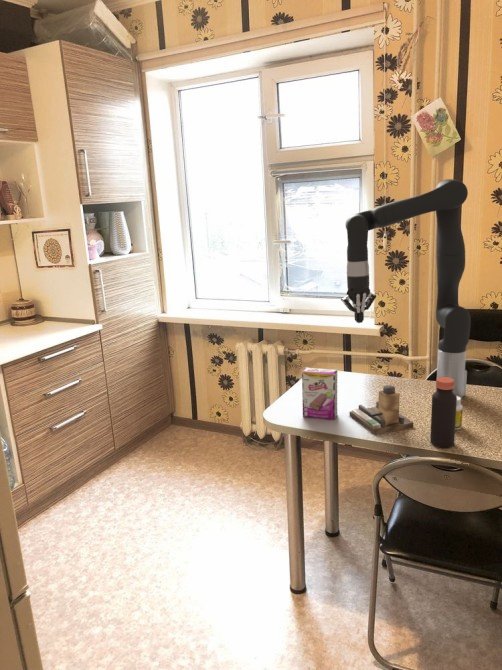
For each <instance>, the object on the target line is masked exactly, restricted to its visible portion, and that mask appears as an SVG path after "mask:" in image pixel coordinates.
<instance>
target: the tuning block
mask: <svg viewBox="0 0 502 670" xmlns="http://www.w3.org/2000/svg"><path fill="white" fill-rule="evenodd" d="M400 396H401V395H400V392H399V391H397V390H396V387H395V386H394V385H389V384H388V385H384V386H383V387H382V390H378V401H379V406H378V413H375V414H370V416H371V417H374V416H378V417H380V418H381V419H383V420H384V421H385V422H386V424H385V425H389V424H394V423H399V414H400Z"/></svg>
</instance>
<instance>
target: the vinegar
mask: <svg viewBox="0 0 502 670" xmlns="http://www.w3.org/2000/svg"><path fill="white" fill-rule="evenodd" d="M435 379H436V380H435V381H436V382H435V391H434V392H433V393H432V395H431V414H430V415H431V417H430V435H429V436H430V439H429V441H430V444H431V445H433V446H434V447H437V448H442V449H449V448H452V447H453V446H455V442H456V441H455V437H456V430H455V423H456V405H457V397H456V395H455V394H454V393H453V389H454V380H453V379H452V378H448V377H440V378H437V377H436V378H435ZM436 389H437V391H436Z"/></svg>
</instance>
